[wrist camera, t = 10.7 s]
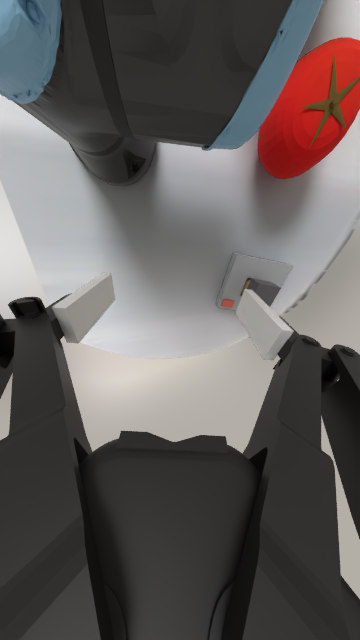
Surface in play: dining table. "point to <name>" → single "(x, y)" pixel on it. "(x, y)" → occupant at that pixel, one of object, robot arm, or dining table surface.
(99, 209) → the dining table surface
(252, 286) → the plug
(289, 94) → the tomato
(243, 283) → the socket plate
